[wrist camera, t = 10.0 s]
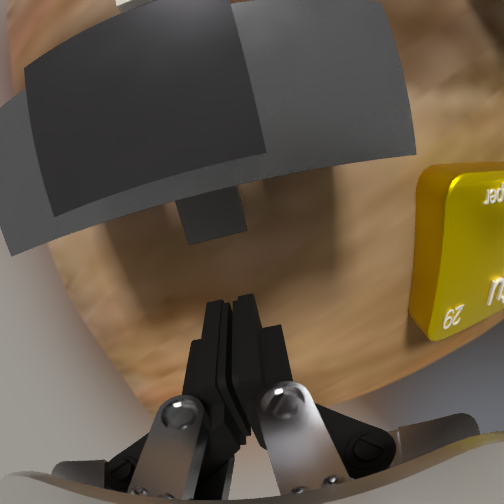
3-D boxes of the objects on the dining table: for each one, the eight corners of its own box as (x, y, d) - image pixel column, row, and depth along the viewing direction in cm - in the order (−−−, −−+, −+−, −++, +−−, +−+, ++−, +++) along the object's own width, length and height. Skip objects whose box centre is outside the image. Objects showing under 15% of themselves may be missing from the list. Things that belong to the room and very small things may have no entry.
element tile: (509, 160, 18) (542, 170, 14) (495, 285, 24) (519, 304, 20) (411, 165, 18) (451, 176, 14) (403, 322, 24) (427, 352, 20)
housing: (312, 58, 15) (426, -28, 3) (330, 142, 17) (474, 168, 6) (75, 122, 15) (-71, 136, 3) (95, 201, 17) (-31, 290, 6)
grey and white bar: (190, -24, 11) (181, -61, 7) (249, 209, 19) (256, 235, 14) (135, -7, 12) (111, -38, 7) (191, 224, 19) (178, 254, 14)
